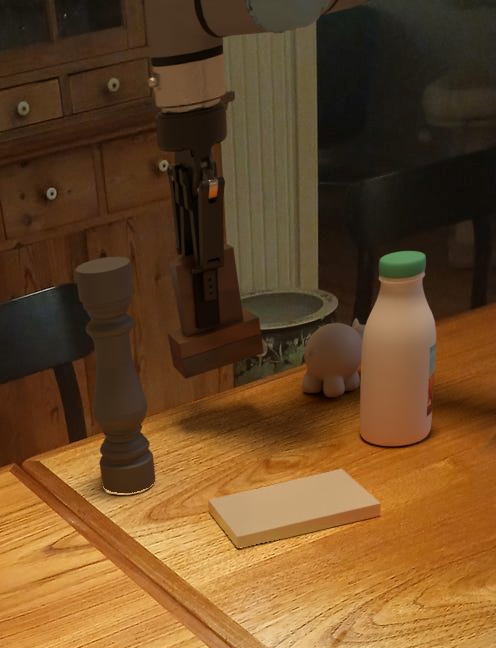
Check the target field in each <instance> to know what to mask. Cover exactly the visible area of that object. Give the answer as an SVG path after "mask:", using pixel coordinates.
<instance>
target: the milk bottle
mask: <svg viewBox="0 0 496 648" xmlns="http://www.w3.org/2000/svg"><path fill="white" fill-rule="evenodd" d="M426 269H427V258H426V254H425V253H424V252H421V251H415V250H402V251H401V250H400V251H396V252H391V253H388V254H385V255H383V256H382V257H381V258H379V262H378V274H379V275H378V280H379V281H380V287H379V291H378V295H377V298H376V300H375V303H374V304H373V305H374V306H373V308H372V310H371V312H370V313H369V316H368V318H367V320H366V323H365V325H366V326H365V329H364V334H363V342H362V357H361V364H360V386H359V387H360V391H359V393H360V395H359V434H360V436H361V438H362V440H364V441H365V442H367V443H370V444H373V445H377V446H381V447H382V446H383V447H400V446H402V447H403V446H407V445H412V444H416V443H418V442H421V441H423V440H425V438H426V437H428V435H429V433H430V431H431V428H432V421H433V420H432V419H433V402H434V390H435V389H434V388H435V373H436V358H437V357H436V355H437V330H436V329H437V328H436V321H435V318H434V315H433V313H432V310H431V308H430V306H429V302H428V301H427V298H426V294H425V291H424V286H423V280H424V279H423V278H424V277H425V276H426V272H425V271H426Z"/></svg>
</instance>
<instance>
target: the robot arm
mask: <svg viewBox="0 0 496 648" xmlns="http://www.w3.org/2000/svg"><path fill="white" fill-rule="evenodd" d="M372 1H373V0H145V1H144V2H145V8H146V9H145V10H146V17H147V18H146V19H147V27H148V37H149V48H150V65H151V73H152V77H150V78H148V80H147V83H148V87H149V88H152V89H153V99H154V106H155V107H156V108H158V109H160V111H158V112H157V113H156V115H155V116H154V117H155V118H154V119H155V130H156V141H157V147H158V149H159V150H160V151H162V152H167V153H174V158H173V161H174V162H173V163H174V164H173V165H168V166H167V168H166V175H167V178H168V182H169V183H168V184H169V189H170V195H171V207H172V208H171V209H172V216H173V227H174V234H175V244H176V254H177V256H181V258H182V257H185V256H188V255H191V254H194V258H195V268H193V269H189V271H190V274H191V275H193V284H194V298H195V313H196V327H197V329H202V328H207V327H211V326H215V325H220V310H219V292H218V273H217V269H219V268H220V267H223V266H224V243H225V234H224V233H225V232H224V231H225V230H224V229H225V228H224V223H225V222H224V195H225V187H226V180H225V177H224V176H223V175H221V176H218V169H217V168H218V167H217V163H216V161H215V160H214V156H213V152H212V148H213V147H214V145H217V144H220V143H222V142H223V141H225V139H226V138H227V136H228V121H227V104H226V103H225V102H224V101H222V100H221V98H223V97H224V96H225V95H226V93H227V86H226V84H227V83H226V65H225V52H224V38H227V37H231V36H243V35H254V34H256V35H257V34H264V33H272V34H284V33H285V32H288V31H293V30H294V31H295V30H297V29H302V28H306V27H310V26H311V25H313V24H314V23H316V22H317V21H318V19H320V17H323V16H325V15H328V14H332V13H336V12H339V11H343V10H348V9H349V10H350V9H351V10H353V9H356V8H360V7H361V6H364V5H366V4H368V3H370V2H372Z"/></svg>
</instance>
